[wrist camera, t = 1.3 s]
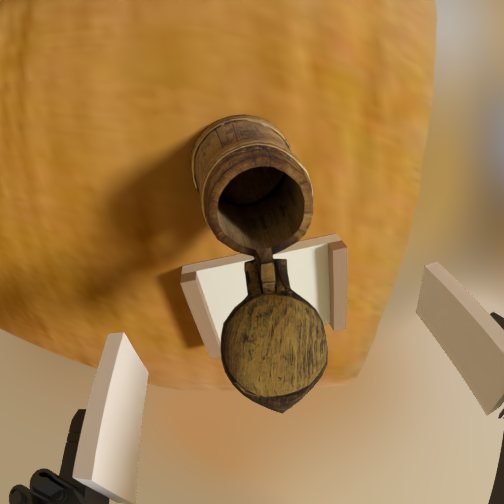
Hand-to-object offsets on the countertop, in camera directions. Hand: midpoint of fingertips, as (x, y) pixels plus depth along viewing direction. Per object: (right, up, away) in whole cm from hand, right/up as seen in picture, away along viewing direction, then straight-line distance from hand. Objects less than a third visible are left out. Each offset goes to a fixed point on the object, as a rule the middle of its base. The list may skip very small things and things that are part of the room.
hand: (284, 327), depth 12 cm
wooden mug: (-2, +9, +15) cm, 18 cm away
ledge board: (0, -1, +21) cm, 21 cm away
